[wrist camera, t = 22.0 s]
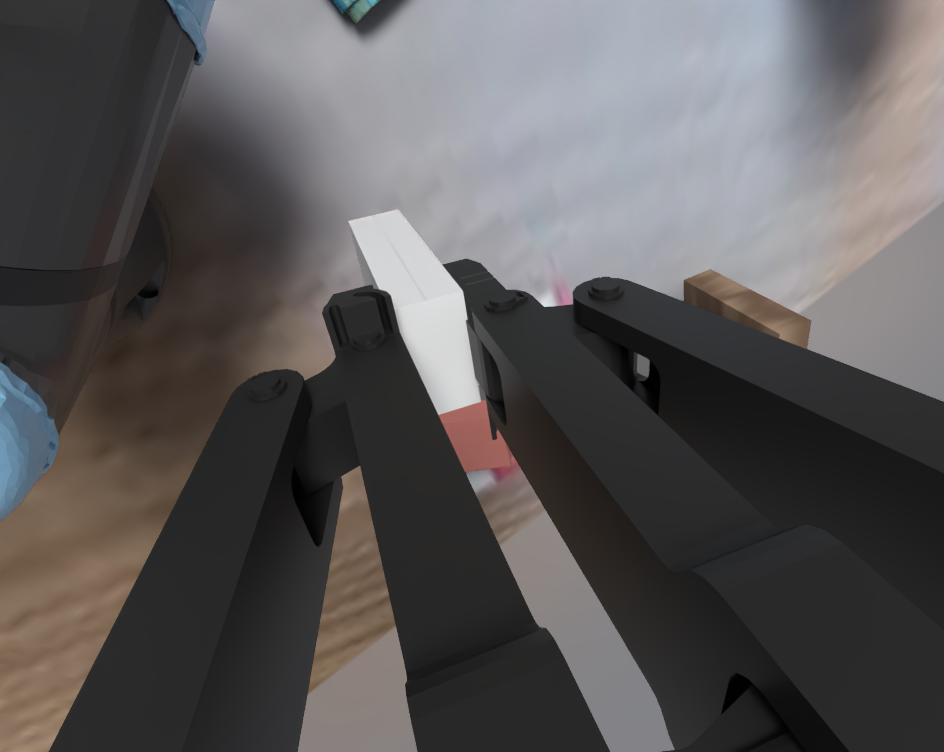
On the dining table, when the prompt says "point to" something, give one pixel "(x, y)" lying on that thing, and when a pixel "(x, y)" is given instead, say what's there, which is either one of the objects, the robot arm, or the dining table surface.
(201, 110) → the dining table surface
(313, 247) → the dining table surface
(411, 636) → the robot arm
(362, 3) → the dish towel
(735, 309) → the end stop
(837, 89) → the dining table surface
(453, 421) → the red domino
